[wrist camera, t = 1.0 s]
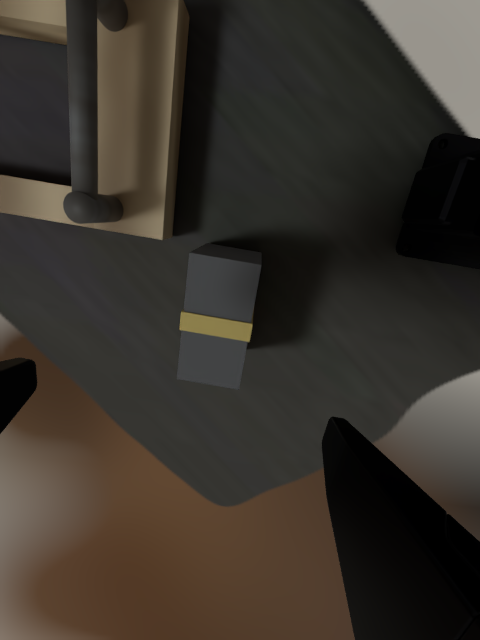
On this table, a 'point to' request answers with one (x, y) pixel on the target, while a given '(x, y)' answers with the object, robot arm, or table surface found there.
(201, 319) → the banded grey block
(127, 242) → the table surface
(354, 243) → the table surface
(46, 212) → the wooden u-shaped holder
